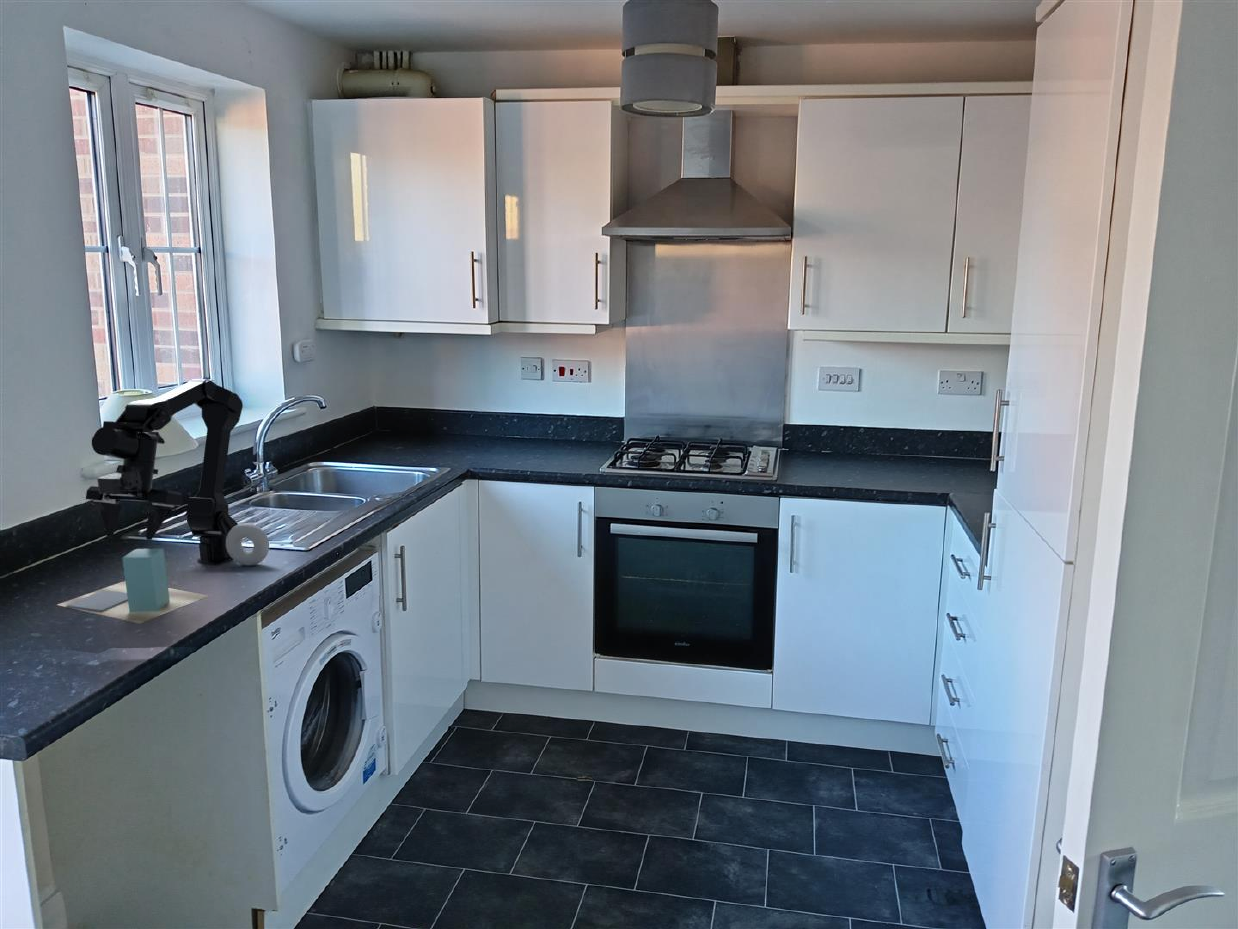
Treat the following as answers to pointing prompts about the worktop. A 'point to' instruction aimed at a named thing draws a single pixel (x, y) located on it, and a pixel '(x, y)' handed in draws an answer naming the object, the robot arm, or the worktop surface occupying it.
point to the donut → (255, 536)
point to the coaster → (100, 601)
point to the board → (122, 611)
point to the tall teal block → (146, 579)
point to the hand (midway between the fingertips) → (129, 538)
